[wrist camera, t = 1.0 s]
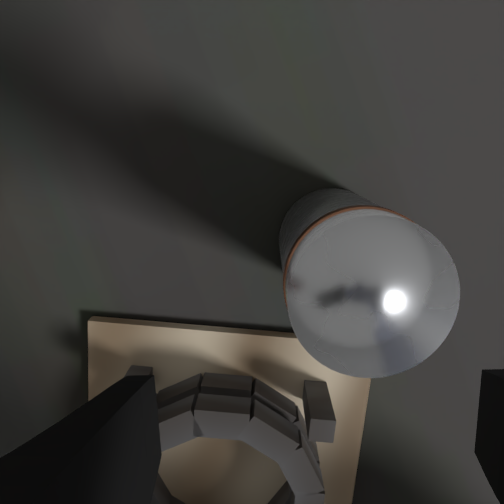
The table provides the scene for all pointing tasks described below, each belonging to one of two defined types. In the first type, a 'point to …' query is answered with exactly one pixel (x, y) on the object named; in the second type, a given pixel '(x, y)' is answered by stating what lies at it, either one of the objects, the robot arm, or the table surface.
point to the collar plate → (237, 411)
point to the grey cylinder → (364, 284)
